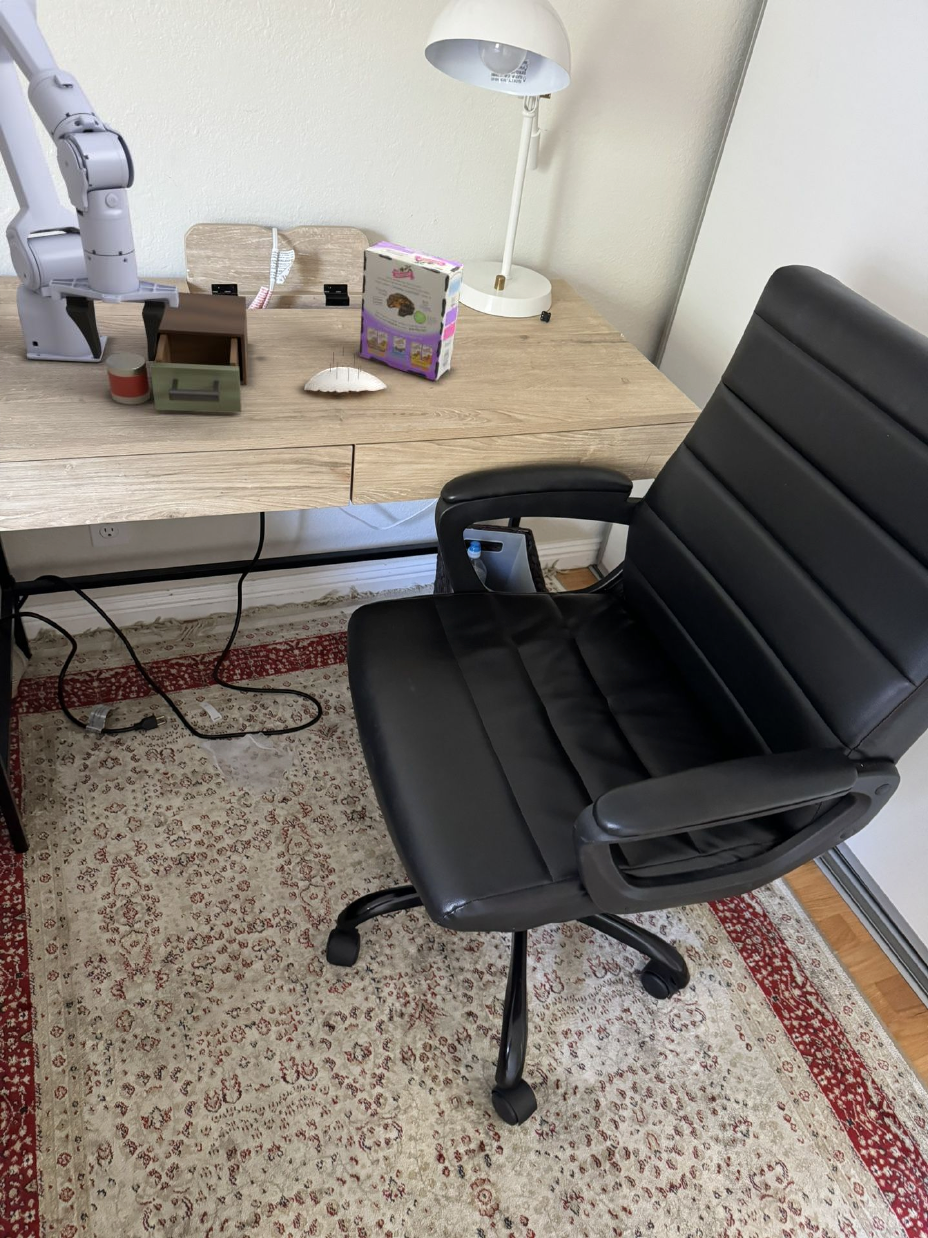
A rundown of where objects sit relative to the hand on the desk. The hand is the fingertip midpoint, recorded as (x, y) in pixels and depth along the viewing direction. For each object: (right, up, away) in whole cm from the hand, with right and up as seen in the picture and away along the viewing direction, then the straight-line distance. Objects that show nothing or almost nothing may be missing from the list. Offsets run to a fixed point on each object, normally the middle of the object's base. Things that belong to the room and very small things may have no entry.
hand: (125, 356), depth 104 cm
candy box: (+35, +6, +23) cm, 42 cm away
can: (-1, -4, +4) cm, 6 cm away
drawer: (+8, -4, +5) cm, 10 cm away
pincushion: (+27, -1, +13) cm, 30 cm away
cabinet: (+6, +4, +14) cm, 15 cm away
